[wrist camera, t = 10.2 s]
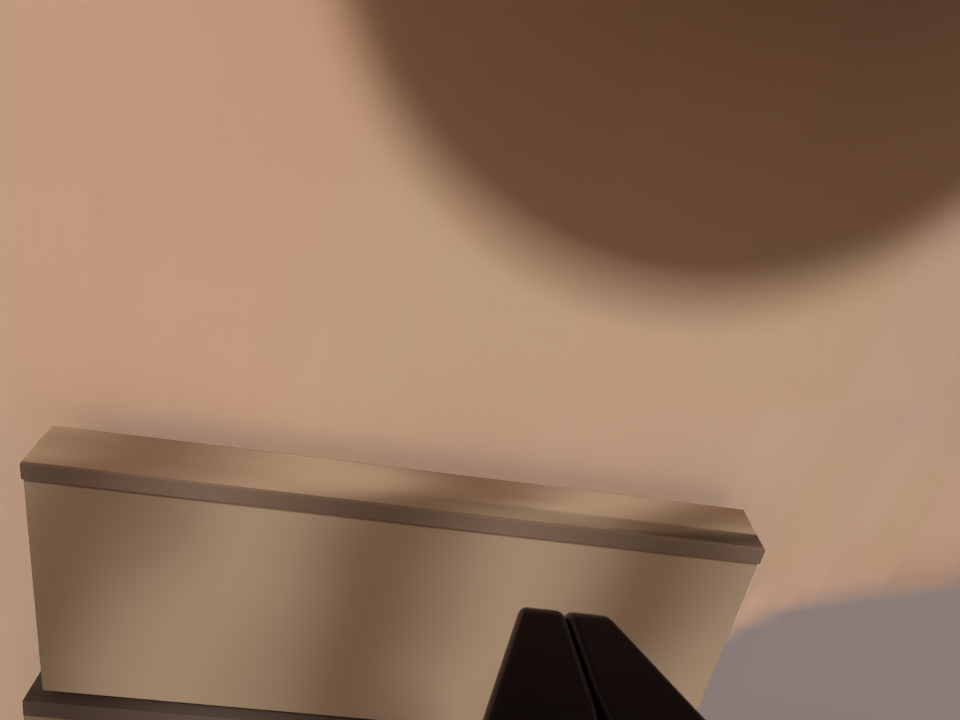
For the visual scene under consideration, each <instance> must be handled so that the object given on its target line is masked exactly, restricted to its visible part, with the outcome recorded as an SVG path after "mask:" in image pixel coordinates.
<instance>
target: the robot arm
mask: <svg viewBox="0 0 960 720" xmlns="http://www.w3.org/2000/svg"><path fill="white" fill-rule="evenodd" d="M483 720H705V719H704V718H703V717H702V715H700V713H699V712H698V711H697V710H696V709H695V708H694V707H693V706H692V705H691V704H690V703H689V702H688V700H687V699H686V698H685V697H684V696H683V695H682V694H681V693H680V692H679V691H678V690H677V689H676V688H675V687H674V686H673V684H672V683H671V682H670V681H669V680H668V679H667V678H666V677H665V676H664V675H663V674H662V673H661V672H660V671H659V669H658V668H657V667H656V666H655V665H654V664H653V663H652V662H651V661H650V660H649V659H648V658H647V657H646V656H645V655H644V653H643V652H642V651H641V650H640V649H639V648H638V647H637V646H636V645H635V644H634V643H633V642H632V641H631V640H630V638H629V637H628V636H627V635H626V634H625V633H624V632H623V631H622V630H621V629H620V628H619V627H618V626H617V625H616V624H615V622H614V621H612V620H611V619H610V618H609V617H607V616H604V615H597V614H587V613H578V612H569V613H567V614H566V615H563V614H562V613H561V612H559V611H557V610H549V609H540V608H530V607H524V608H522V609H521V610H520V611H519V613H518V615H517V618H516V621H515V624H514V627H513V630H512V633H511V636H510V639H509V642H508V645H507V648H506V651H505V654H504V657H503V660H502V663H501V666H500V669H499V672H498V675H497V678H496V681H495V684H494V687H493V690H492V693H491V696H490V699H489V702H488V705H487V708H486V711H485V714H484V717H483Z"/></svg>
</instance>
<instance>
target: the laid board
mask: <svg viewBox="0 0 960 720" xmlns="http://www.w3.org/2000/svg"><path fill="white" fill-rule="evenodd" d="M23 715H24V720H375V719H363V718H352V717H341V716H330V715H318V714H307V713H296V712H284V711H273V710H262V709H250V708H239V707H228V706H217V705H205V704H194V703H183V702H171V701H160V700H149V699H137V698H126V697H115V696H104V695H92V694H81V693H70V692H58V691H47V690H43V686H42V675H41V672H40V674H39V675H38V677H37V678H36V680H35V682H34V683H33V685H32V686H31V688H30V690H29V691H28V693H27V695H26V696H25V698H24V699H23Z"/></svg>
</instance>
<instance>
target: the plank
mask: <svg viewBox="0 0 960 720" xmlns="http://www.w3.org/2000/svg"><path fill="white" fill-rule="evenodd" d="M20 471H21V479H24V488H25V499H26V510H27V521H28V532H29V543H30V554H31V565H32V576H33V587H34V598H35V609H36V620H37V631H38V642H39V653H40V664H41V675H42V686H43V690H47V691H58V692H70V693H81V694H92V695H104V696H115V697H126V698H137V699H149V700H160V701H171V702H183V703H194V704H205V705H217V706H228V707H239V708H250V709H262V710H273V711H284V712H296V713H307V714H318V715H330V716H341V717H352V718H363V719H375V720H483V717H484V714H485V711H486V708H487V705H488V702H489V699H490V696H491V693H492V690H493V687H494V684H495V681H496V678H497V675H498V672H499V669H500V666H501V663H502V660H503V657H504V654H505V651H506V648H507V645H508V642H509V639H510V636H511V633H512V630H513V627H514V624H515V621H516V618H517V615H518V613H519V611H520V610H521V609H522V608H524V607H530V608H540V609H549V610H557V611H559V612H561V613H562V614H563V615H566V614H567V613H569V612H578V613H587V614H597V615H604V616H607V617H609V618H610V619H611V620H612V621H614V622H615V624H616V625H617V626H618V627H619V628H620V629H621V630H622V631H623V632H624V633H625V634H626V635H627V636H628V637H629V638H630V640H631V641H632V642H633V643H634V644H635V645H636V646H637V647H638V648H639V649H640V650H641V651H642V652H643V653H644V655H645V656H646V657H647V658H648V659H649V660H650V661H651V662H652V663H653V664H654V665H655V666H656V667H657V668H658V669H659V671H660V672H661V673H662V674H663V675H664V676H665V677H666V678H667V679H668V680H669V681H670V682H671V683H672V684H673V686H674V687H675V688H676V689H677V690H678V691H679V692H680V693H681V694H682V695H683V696H684V697H685V698H686V699H687V700H688V702H689V703H690V704H691V705H692V706H693V707H694V708H695V709H696V710H698V708H699V705H700V703H701V700H702V698H703V695H704V693H705V691H706V688H707V686H708V683H709V681H710V678H711V676H712V673H713V671H714V669H715V666H716V664H717V661H718V659H719V656H720V654H721V651H722V649H723V646H724V644H725V641H726V639H727V637H728V634H729V632H730V629H731V627H732V624H733V622H734V619H735V617H736V614H737V612H738V610H739V607H740V605H741V602H742V600H743V597H744V595H745V592H746V590H747V587H748V585H749V583H750V580H751V578H752V575H753V573H754V570H755V568H756V565H757V563H758V564H760V562H761V559H762V557H763V554H764V552H765V550H764V548H763V546H762V544H761V542H760V540H759V539H758V537H757V535H756V533H755V531H754V529H753V528H752V526H751V524H750V522H749V520H748V518H747V516H746V515H745V513H744V511H743V510H740V509H731V508H723V507H715V506H707V505H699V504H691V503H682V502H674V501H666V500H658V499H650V498H641V497H633V496H625V495H617V494H609V493H600V492H592V491H584V490H576V489H568V488H560V487H551V486H543V485H535V484H527V483H519V482H510V481H502V480H494V479H486V478H478V477H469V476H461V475H453V474H445V473H437V472H429V471H420V470H412V469H404V468H396V467H388V466H379V465H371V464H363V463H355V462H347V461H338V460H330V459H322V458H314V457H306V456H297V455H289V454H281V453H273V452H265V451H257V450H248V449H240V448H232V447H224V446H216V445H207V444H199V443H191V442H183V441H175V440H166V439H158V438H150V437H142V436H134V435H126V434H117V433H109V432H101V431H93V430H85V429H76V428H68V427H60V426H52V427H51V428H50V429H49V430H48V431H47V433H46V434H45V435H44V436H43V437H42V438H41V440H40V441H39V442H38V443H37V444H36V445H35V447H34V448H33V449H32V450H31V451H30V452H29V454H28V455H27V456H26V457H25V458H24V459H23V461H22V462H21V463H20Z"/></svg>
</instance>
